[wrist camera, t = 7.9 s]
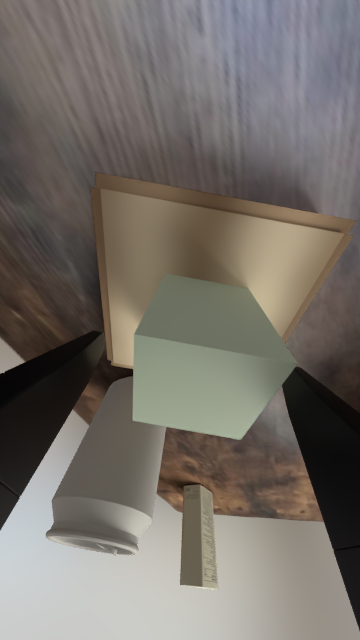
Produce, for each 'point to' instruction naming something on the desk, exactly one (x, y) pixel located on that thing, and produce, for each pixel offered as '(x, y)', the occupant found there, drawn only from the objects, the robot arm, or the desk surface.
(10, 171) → the desk surface
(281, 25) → the desk surface
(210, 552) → the skincare box
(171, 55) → the desk surface
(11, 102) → the desk surface
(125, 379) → the can
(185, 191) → the base slab
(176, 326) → the green block
